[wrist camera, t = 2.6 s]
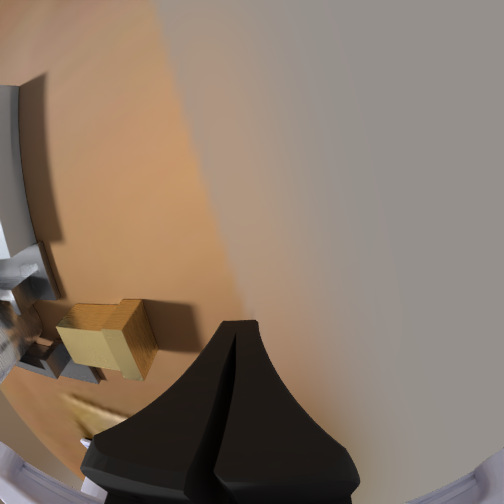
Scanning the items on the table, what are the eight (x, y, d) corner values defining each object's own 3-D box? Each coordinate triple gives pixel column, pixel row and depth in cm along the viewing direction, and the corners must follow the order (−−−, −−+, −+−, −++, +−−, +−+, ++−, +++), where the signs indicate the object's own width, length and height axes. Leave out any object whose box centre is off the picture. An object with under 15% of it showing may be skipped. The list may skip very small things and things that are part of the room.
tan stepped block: (158, 348, 12) (144, 381, 10) (93, 343, 12) (75, 369, 10) (141, 299, 11) (121, 330, 9) (74, 298, 11) (50, 323, 9)
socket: (101, 379, 13) (88, 402, 12) (19, 358, 14) (7, 374, 12) (42, 241, 10) (16, 257, 8) (-28, 252, 11) (-46, 264, 9)
